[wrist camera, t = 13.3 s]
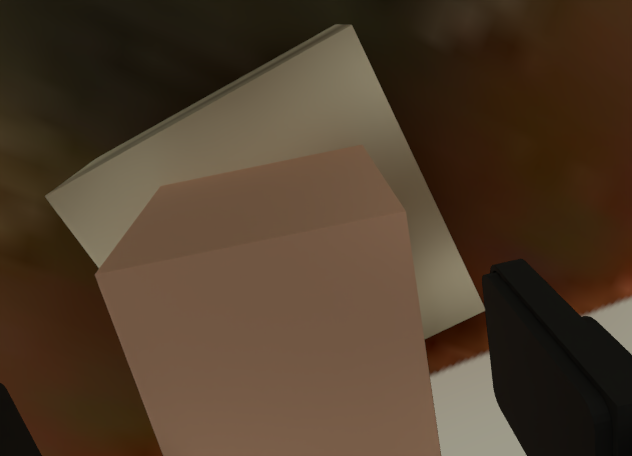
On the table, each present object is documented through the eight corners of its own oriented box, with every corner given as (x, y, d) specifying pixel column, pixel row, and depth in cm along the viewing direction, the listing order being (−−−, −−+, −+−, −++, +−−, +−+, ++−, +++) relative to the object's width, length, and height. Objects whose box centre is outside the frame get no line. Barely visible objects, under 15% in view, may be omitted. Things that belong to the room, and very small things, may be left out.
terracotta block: (160, 186, 16) (95, 274, 10) (362, 144, 16) (406, 211, 10) (213, 356, 18) (182, 507, 12) (391, 321, 18) (441, 456, 12)
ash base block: (98, 156, 21) (44, 196, 16) (334, 24, 19) (351, 24, 15) (235, 354, 24) (224, 434, 19) (443, 251, 23) (486, 310, 18)
